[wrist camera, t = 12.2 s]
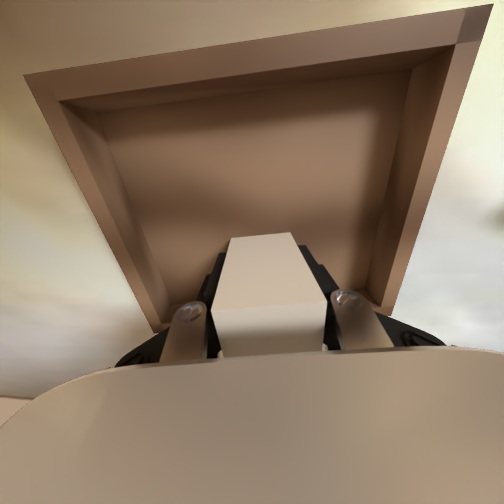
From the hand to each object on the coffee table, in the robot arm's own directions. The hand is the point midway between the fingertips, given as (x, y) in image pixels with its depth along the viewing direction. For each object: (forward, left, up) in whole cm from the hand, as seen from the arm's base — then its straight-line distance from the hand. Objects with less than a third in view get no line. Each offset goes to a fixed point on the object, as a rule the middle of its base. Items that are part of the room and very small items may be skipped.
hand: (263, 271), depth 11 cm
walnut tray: (-3, 0, -1) cm, 3 cm away
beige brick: (0, 0, -1) cm, 1 cm away
